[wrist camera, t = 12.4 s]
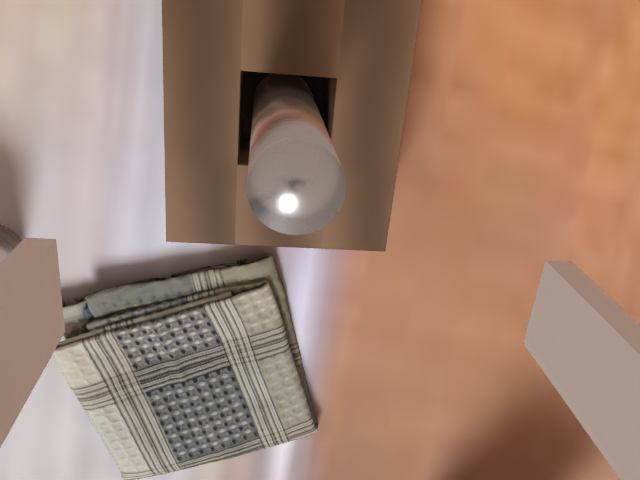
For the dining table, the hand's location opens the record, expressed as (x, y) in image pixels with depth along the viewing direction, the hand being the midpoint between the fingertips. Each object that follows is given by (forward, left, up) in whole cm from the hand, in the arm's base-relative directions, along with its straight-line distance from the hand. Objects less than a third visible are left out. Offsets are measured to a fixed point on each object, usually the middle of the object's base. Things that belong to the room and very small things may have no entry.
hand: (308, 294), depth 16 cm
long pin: (0, 0, -26) cm, 26 cm away
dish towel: (-6, -22, -27) cm, 35 cm away
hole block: (0, 0, -26) cm, 26 cm away
